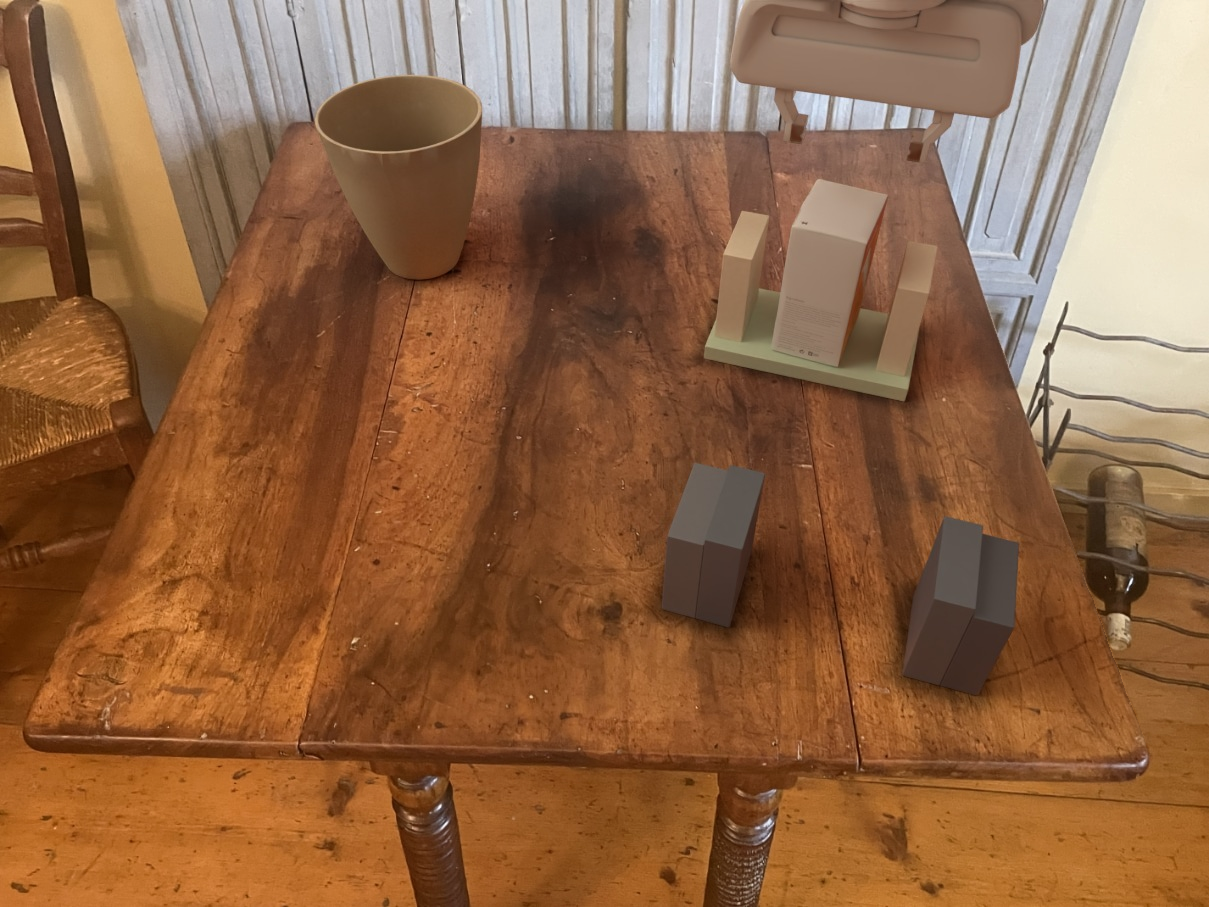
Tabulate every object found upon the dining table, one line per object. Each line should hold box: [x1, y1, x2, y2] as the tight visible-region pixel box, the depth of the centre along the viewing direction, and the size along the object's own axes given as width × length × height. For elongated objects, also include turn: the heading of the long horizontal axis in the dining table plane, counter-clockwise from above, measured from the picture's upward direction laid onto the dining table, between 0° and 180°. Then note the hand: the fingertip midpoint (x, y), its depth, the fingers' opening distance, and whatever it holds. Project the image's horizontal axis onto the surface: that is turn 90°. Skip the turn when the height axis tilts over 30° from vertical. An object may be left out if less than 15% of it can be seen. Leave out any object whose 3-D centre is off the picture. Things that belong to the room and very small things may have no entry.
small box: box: [771, 178, 889, 367], centre depth 85 cm, size 8×6×13 cm
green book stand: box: [703, 210, 938, 403], centre depth 87 cm, size 18×10×10 cm, turn 72°
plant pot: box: [314, 74, 483, 281], centre depth 94 cm, size 15×15×16 cm
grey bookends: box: [661, 462, 1020, 697], centre depth 67 cm, size 22×7×9 cm, turn 72°
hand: (854, 149), depth 76 cm, fingers open, 8 cm apart
